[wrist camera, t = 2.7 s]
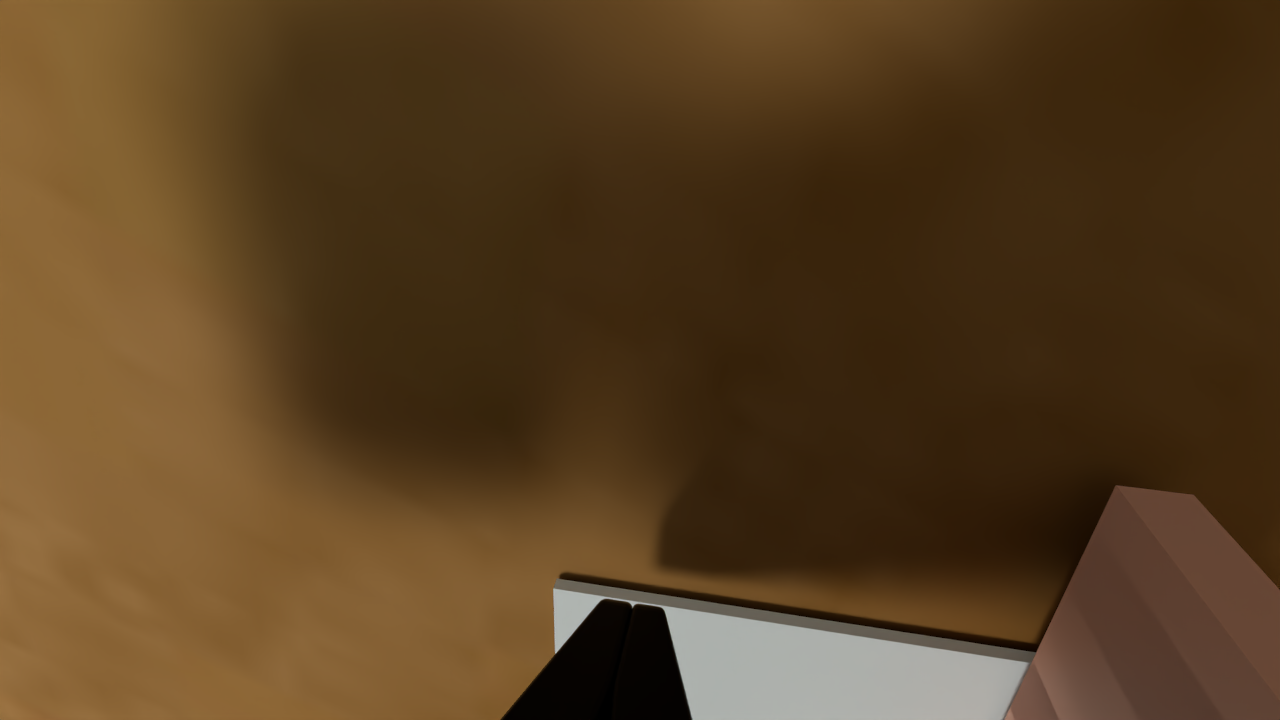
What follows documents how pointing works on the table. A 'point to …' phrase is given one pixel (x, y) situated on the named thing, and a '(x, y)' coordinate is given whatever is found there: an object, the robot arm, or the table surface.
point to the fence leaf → (1158, 623)
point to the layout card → (813, 663)
